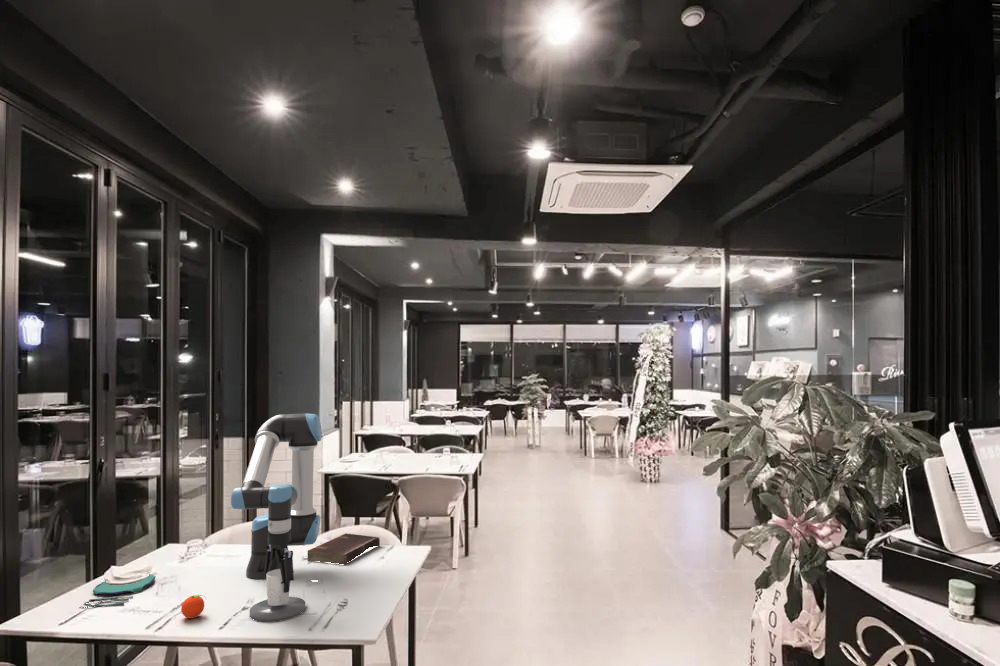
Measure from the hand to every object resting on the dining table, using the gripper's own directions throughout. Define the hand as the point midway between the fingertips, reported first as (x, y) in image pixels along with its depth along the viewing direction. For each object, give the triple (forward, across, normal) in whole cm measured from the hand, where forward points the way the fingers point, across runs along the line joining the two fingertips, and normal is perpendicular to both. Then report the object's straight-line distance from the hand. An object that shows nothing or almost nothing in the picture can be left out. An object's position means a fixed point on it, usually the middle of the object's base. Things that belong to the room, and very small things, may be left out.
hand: (278, 598), depth 200 cm
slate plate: (+4, 0, 0) cm, 4 cm away
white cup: (+1, 0, 0) cm, 1 cm away
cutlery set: (+5, -64, -28) cm, 70 cm away
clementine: (+4, -18, -20) cm, 27 cm away
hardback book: (+5, -36, +54) cm, 65 cm away
